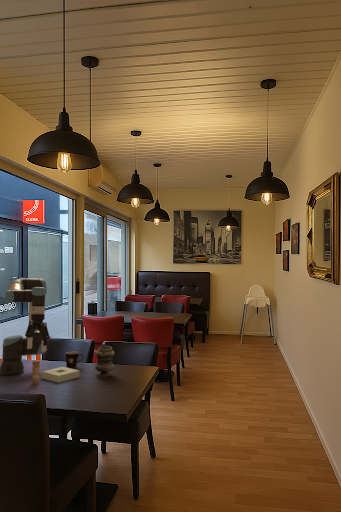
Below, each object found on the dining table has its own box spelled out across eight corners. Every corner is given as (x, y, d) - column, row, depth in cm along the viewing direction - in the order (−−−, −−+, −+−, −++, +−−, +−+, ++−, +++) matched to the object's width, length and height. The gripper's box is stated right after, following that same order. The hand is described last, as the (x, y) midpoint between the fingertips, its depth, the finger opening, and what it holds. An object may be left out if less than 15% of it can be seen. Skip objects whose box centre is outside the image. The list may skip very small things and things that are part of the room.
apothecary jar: (103, 379, 229) (104, 349, 230) (90, 376, 236) (91, 347, 237) (117, 375, 238) (118, 347, 239) (104, 372, 246) (105, 344, 247)
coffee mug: (62, 368, 255) (62, 353, 255) (69, 365, 263) (69, 351, 264) (77, 369, 251) (77, 354, 252) (84, 366, 260) (84, 352, 260)
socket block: (41, 378, 229) (41, 371, 229) (62, 372, 242) (62, 366, 242) (58, 382, 220) (58, 375, 220) (79, 377, 233) (79, 370, 233)
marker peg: (30, 384, 216) (31, 361, 217) (36, 382, 219) (37, 360, 220) (34, 385, 214) (35, 362, 214) (40, 383, 217) (41, 361, 218)
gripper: (19, 312, 223) (18, 348, 221) (45, 315, 209) (44, 353, 207) (30, 311, 229) (29, 346, 228) (56, 314, 215) (55, 351, 213)
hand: (36, 350), depth 217 cm, fingers open, 13 cm apart
